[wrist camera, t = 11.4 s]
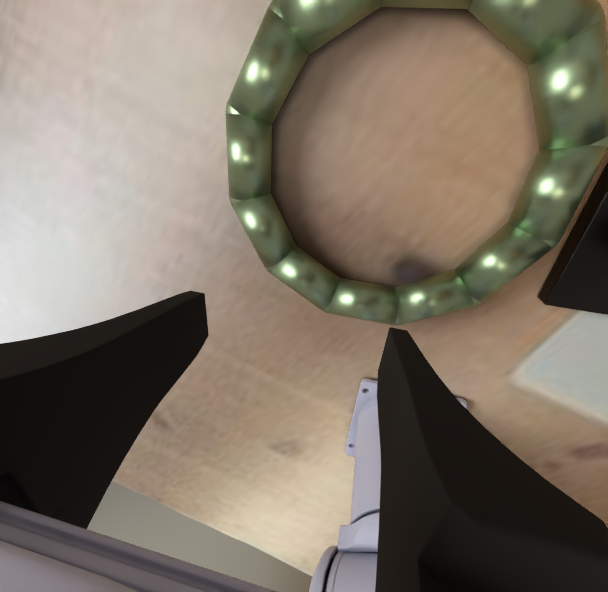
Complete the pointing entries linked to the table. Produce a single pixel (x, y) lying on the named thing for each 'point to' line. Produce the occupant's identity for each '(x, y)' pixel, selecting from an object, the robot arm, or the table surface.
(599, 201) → the stand
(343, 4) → the hoop
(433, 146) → the table surface
